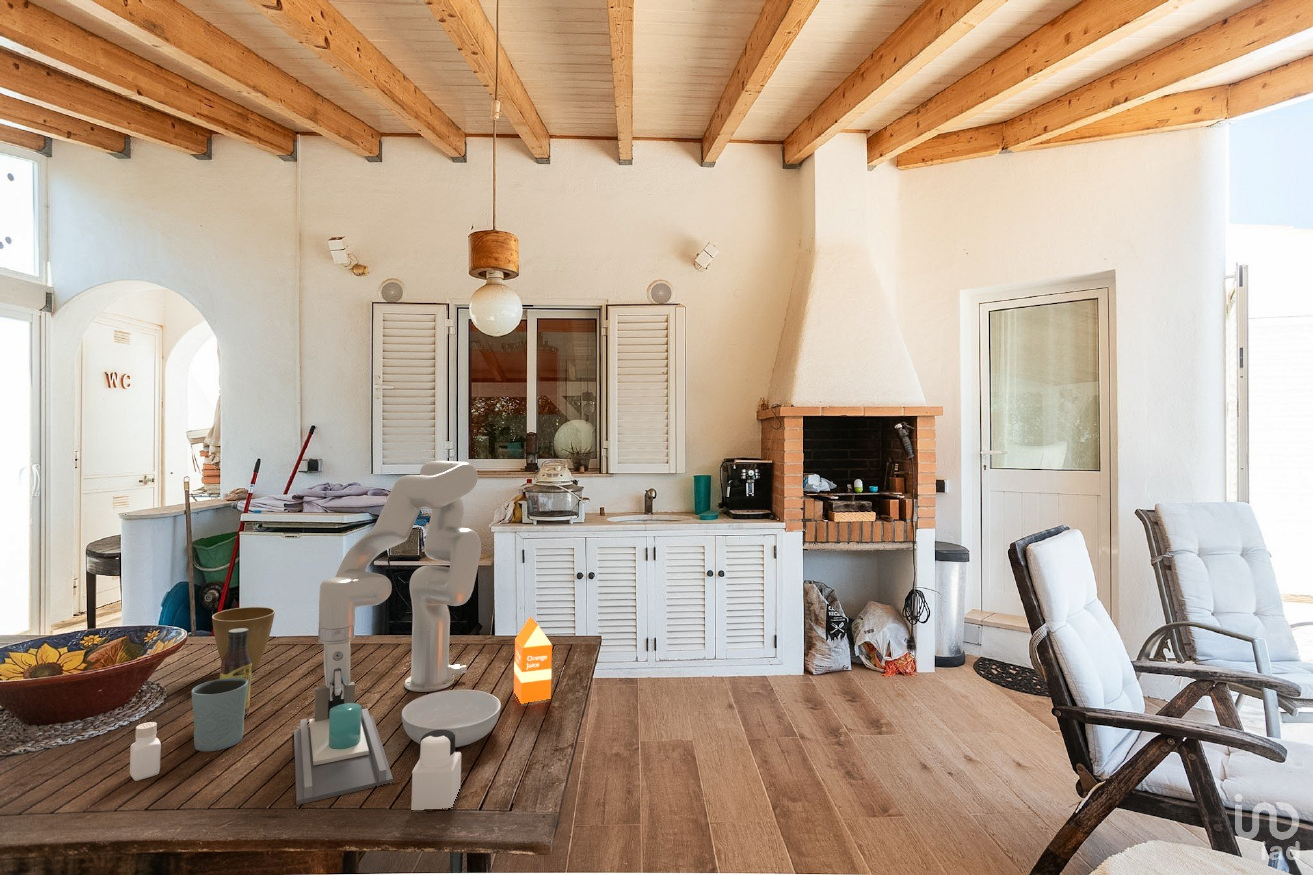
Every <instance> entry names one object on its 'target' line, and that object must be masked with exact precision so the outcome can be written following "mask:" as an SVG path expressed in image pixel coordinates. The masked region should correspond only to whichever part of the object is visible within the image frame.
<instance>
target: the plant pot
mask: <svg viewBox="0 0 1313 875" xmlns="http://www.w3.org/2000/svg"><path fill="white" fill-rule="evenodd" d="M275 615H276V609H274V608H271V607H267V606H266V607H263V606H247V607H246V606H245V607H238V608H237V607H236V608H230V609H225V610H221V611H219V612H216V613H214V614H212V616H211V622H212V630H213V634H214V635H213V636H214V641H215V645H216V650H217V652H218V655H219V659H220V661H221V662H222V659H223V658H224V656H225V655H226V653H227V652H228V643H229V638H228V631H229V630H232V629H238V628H247V629H248V630H249V631H248V633H249V634H248V636H247V649H248V653H249V656H250V660H251V662H252V672H254V671H256V670H257V669H258V667H259V665H260V662H261V660H262V658H263V656H264V652H265V650H266V648H267V644H268V641H269V639H270V635H271V632H272V628H273V624H274V623H273V622H274V619H275Z"/></svg>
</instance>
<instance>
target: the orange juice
mask: <svg viewBox="0 0 1313 875" xmlns="http://www.w3.org/2000/svg"><path fill="white" fill-rule="evenodd" d="M552 654H553V644H552V643H551V641H550V640H549V639H548V637H547V636H546V634H545V633H544V631H543V629H542V628H541V627H540V625H539V624H538V623H537V622H536V621H535V620H534V619H533V618H532V617H531V616H529V618H528V619H527V621H526V622H525V624H524V625H523V627H522V628H521V630H520V631H519V633H518V635H517V636H516V637H515V638H514V668H513V670H514V671H513V672H514V674H513V675H514V676H513V677H514V678H513V694H514V693H515V694H516V696H517V697H518V699H519V701H520V703H521V704H524V703H528V702H534V701H541V700H546V699H551V698H552V697H551V696H552V663H553V662H552Z"/></svg>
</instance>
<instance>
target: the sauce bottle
mask: <svg viewBox="0 0 1313 875" xmlns="http://www.w3.org/2000/svg"><path fill="white" fill-rule="evenodd" d="M248 631H249V630H248V629H247V628H238V629H232V630H229V631H228V638H229V643H228V652H227V653H226V655H225V656H224V658H223V659H222V661H221V663H220V673H219V679H225V678H243V679H246V680H248V690H247V698H246V703H245V715H244V716H246V715H247V714H248V713H249V710H250V705H251V689H252V686H251V685H252V672H253V671H252V662H251V660H250V656H249V653H248V649H247V636H248V634H249V633H248Z"/></svg>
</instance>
